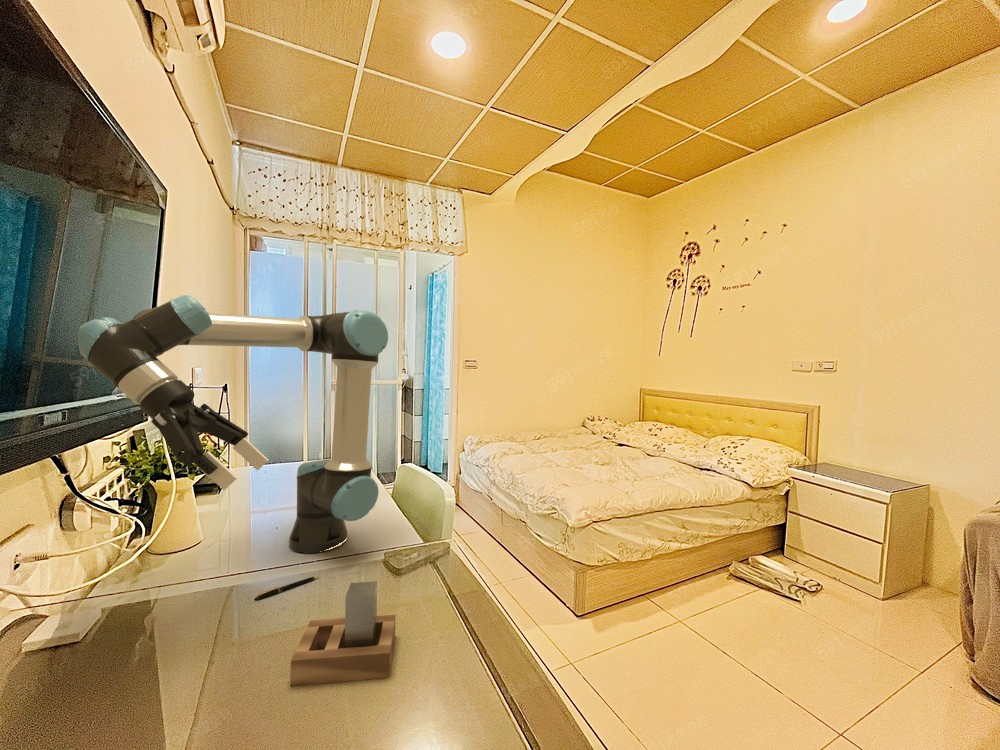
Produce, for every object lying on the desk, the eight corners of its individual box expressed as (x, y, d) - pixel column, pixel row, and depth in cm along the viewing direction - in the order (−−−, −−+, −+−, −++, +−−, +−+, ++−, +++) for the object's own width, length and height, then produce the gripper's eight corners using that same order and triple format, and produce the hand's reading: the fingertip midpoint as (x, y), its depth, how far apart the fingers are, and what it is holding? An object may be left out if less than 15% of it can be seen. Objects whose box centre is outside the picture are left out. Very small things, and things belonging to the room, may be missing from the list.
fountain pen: (319, 577, 99) (319, 571, 99) (321, 579, 98) (321, 572, 98) (252, 601, 88) (252, 594, 88) (254, 603, 88) (254, 596, 88)
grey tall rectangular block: (349, 650, 74) (350, 582, 74) (375, 647, 74) (377, 581, 74) (344, 668, 69) (345, 596, 69) (372, 665, 70) (373, 594, 70)
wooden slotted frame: (310, 642, 76) (310, 620, 75) (395, 635, 78) (395, 614, 78) (290, 686, 65) (290, 660, 65) (389, 677, 68) (389, 652, 67)
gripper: (183, 401, 87) (260, 471, 90) (85, 414, 62) (194, 511, 65) (211, 376, 88) (286, 446, 90) (125, 380, 63) (232, 476, 66)
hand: (248, 473), depth 78 cm, fingers open, 13 cm apart
